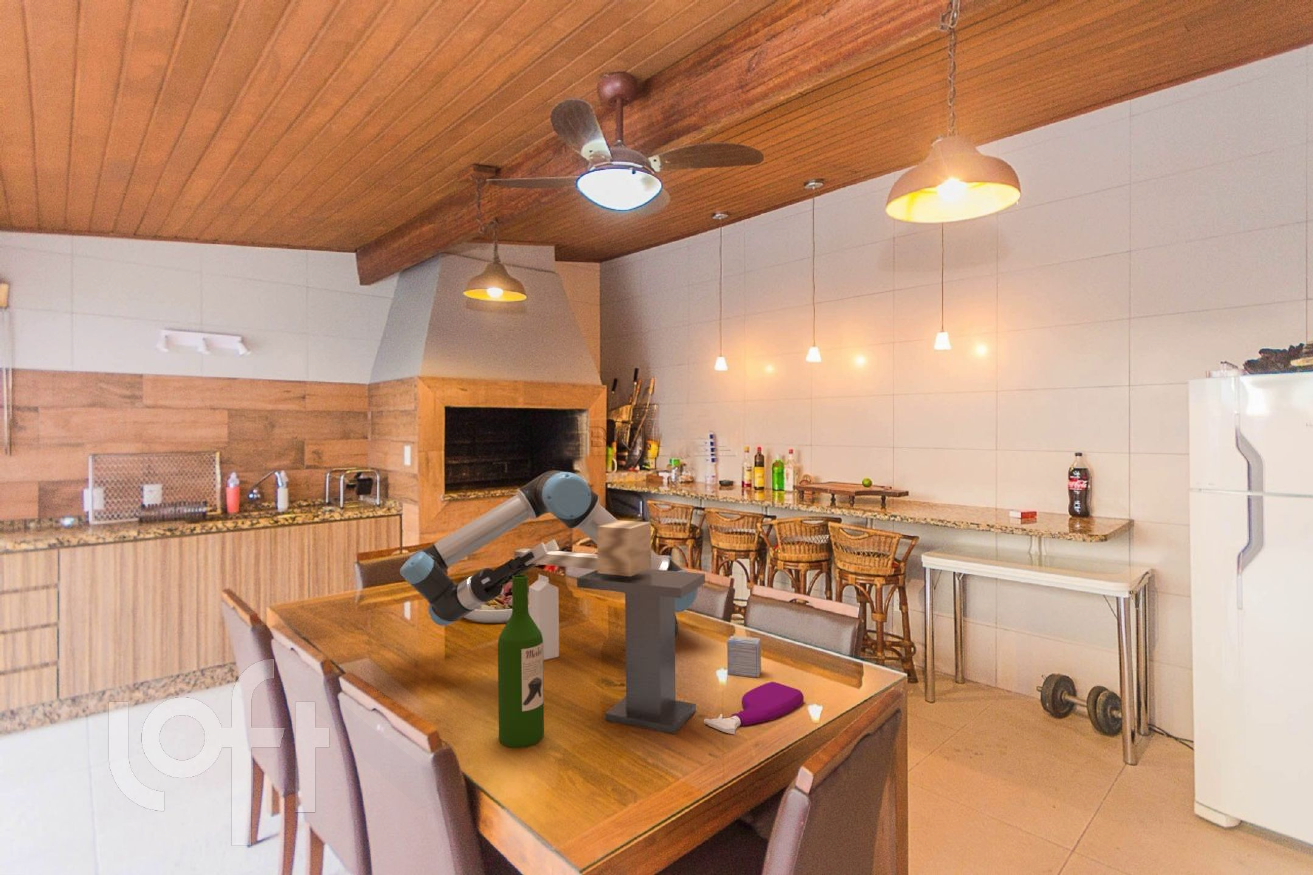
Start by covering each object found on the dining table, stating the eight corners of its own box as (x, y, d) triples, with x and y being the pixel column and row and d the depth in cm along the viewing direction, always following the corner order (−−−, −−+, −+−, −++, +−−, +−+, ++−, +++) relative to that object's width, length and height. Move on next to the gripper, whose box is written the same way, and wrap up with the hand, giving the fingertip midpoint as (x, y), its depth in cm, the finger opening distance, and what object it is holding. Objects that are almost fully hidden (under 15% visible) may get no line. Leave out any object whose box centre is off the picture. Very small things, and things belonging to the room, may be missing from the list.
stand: (578, 717, 139) (576, 577, 139) (609, 693, 152) (608, 565, 152) (682, 738, 129) (680, 588, 129) (706, 710, 142) (704, 573, 142)
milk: (539, 661, 173) (538, 579, 173) (529, 655, 178) (528, 575, 178) (559, 656, 177) (558, 576, 177) (549, 650, 182) (548, 572, 182)
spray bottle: (808, 705, 146) (739, 744, 128) (768, 691, 153) (698, 726, 136) (808, 691, 145) (738, 729, 128) (768, 678, 153) (698, 712, 136)
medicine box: (761, 672, 165) (761, 637, 164) (758, 678, 160) (758, 643, 160) (730, 668, 167) (730, 635, 167) (727, 674, 163) (726, 640, 163)
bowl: (538, 625, 206) (538, 601, 206) (444, 626, 206) (444, 601, 206) (554, 600, 236) (553, 579, 236) (471, 601, 236) (471, 580, 236)
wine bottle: (522, 752, 124) (520, 583, 124) (489, 740, 129) (487, 577, 129) (553, 733, 132) (551, 574, 132) (520, 723, 137) (519, 569, 136)
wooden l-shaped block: (506, 564, 149) (505, 520, 149) (531, 556, 158) (531, 515, 158) (631, 576, 136) (630, 528, 136) (651, 566, 145) (650, 522, 145)
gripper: (508, 594, 165) (576, 554, 157) (463, 611, 150) (536, 568, 141) (496, 567, 167) (563, 526, 158) (450, 581, 151) (521, 537, 143)
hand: (550, 546), depth 150 cm, fingers closed on wooden l-shaped block, 4 cm apart
